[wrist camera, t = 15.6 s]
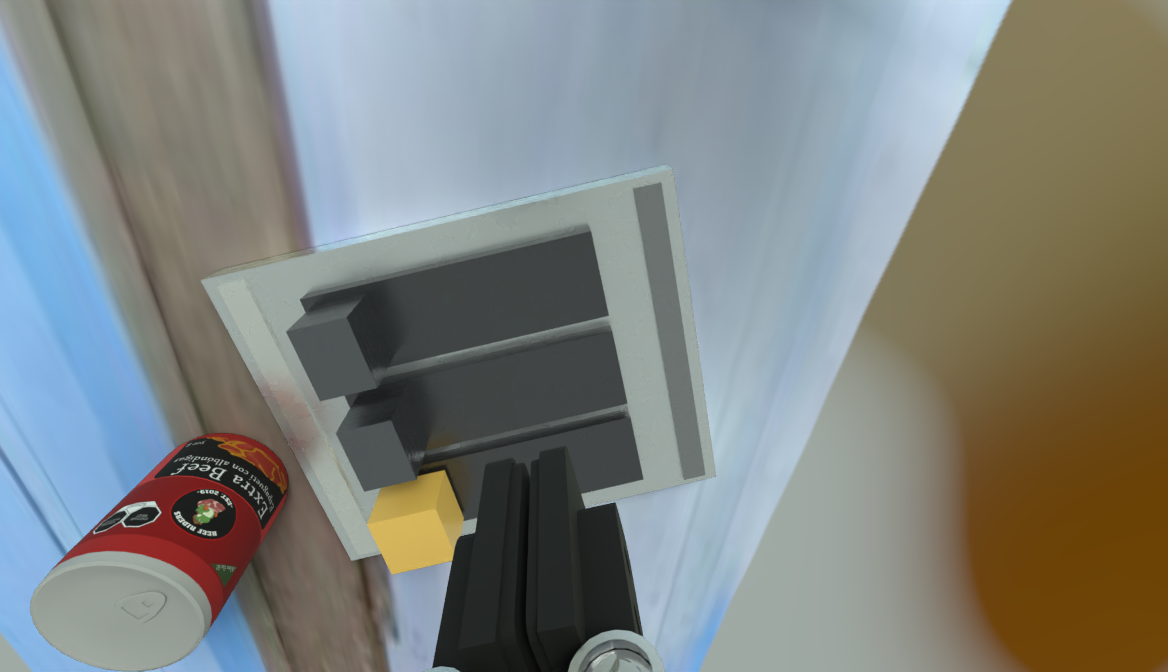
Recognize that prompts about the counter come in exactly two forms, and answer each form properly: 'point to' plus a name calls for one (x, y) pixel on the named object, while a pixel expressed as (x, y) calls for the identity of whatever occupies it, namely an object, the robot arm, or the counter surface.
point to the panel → (483, 349)
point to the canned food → (163, 557)
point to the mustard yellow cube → (416, 522)
